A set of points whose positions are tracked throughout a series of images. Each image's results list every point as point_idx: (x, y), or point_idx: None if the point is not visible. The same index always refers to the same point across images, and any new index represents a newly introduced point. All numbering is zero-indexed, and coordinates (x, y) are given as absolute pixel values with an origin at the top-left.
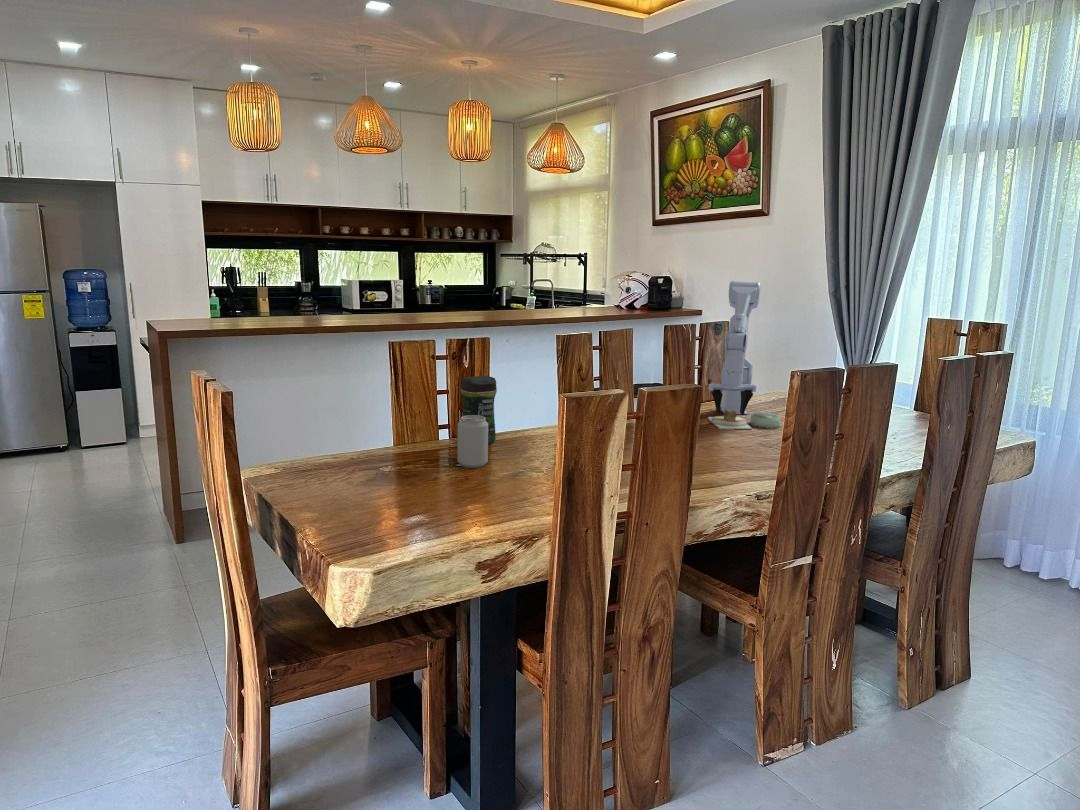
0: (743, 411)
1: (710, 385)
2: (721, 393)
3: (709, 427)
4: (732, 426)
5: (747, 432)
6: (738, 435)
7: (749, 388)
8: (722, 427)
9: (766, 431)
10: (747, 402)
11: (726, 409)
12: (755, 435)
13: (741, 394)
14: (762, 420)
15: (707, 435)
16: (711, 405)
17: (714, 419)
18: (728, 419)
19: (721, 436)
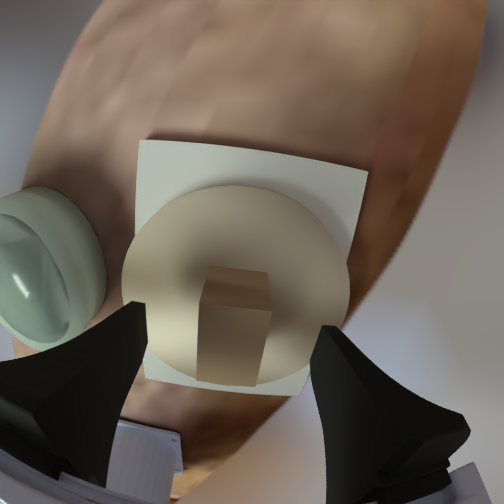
0: (129, 308)
1: (488, 501)
2: (424, 445)
3: (398, 224)
4: (267, 184)
5: (207, 71)
6: (309, 12)
7: (8, 472)
8: (351, 168)
9: (76, 107)
10: (68, 346)
11: (243, 380)
12: (192, 6)
13: (103, 462)
14: (43, 210)
15: (470, 68)
16: (193, 485)
17: (330, 320)
18: (262, 277)
19: (415, 25)
